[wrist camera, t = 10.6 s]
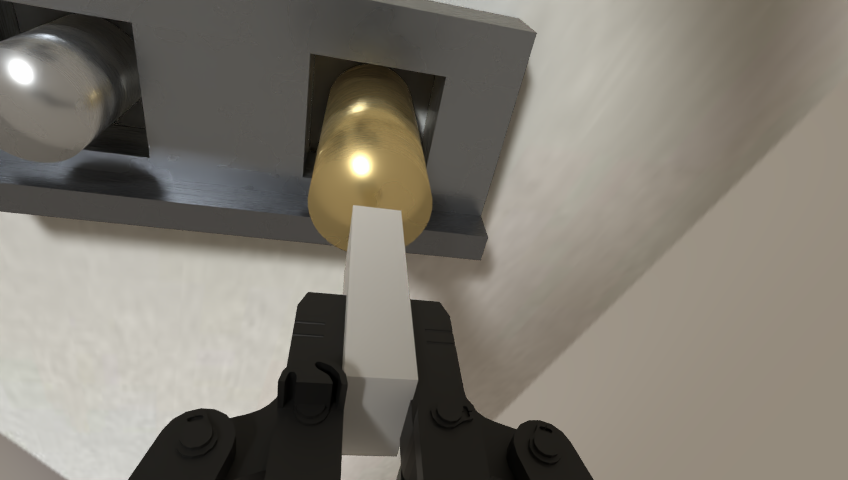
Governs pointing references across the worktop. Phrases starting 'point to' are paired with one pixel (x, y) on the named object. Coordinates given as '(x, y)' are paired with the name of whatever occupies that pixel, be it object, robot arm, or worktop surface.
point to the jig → (277, 115)
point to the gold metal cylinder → (369, 155)
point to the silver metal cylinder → (64, 86)
